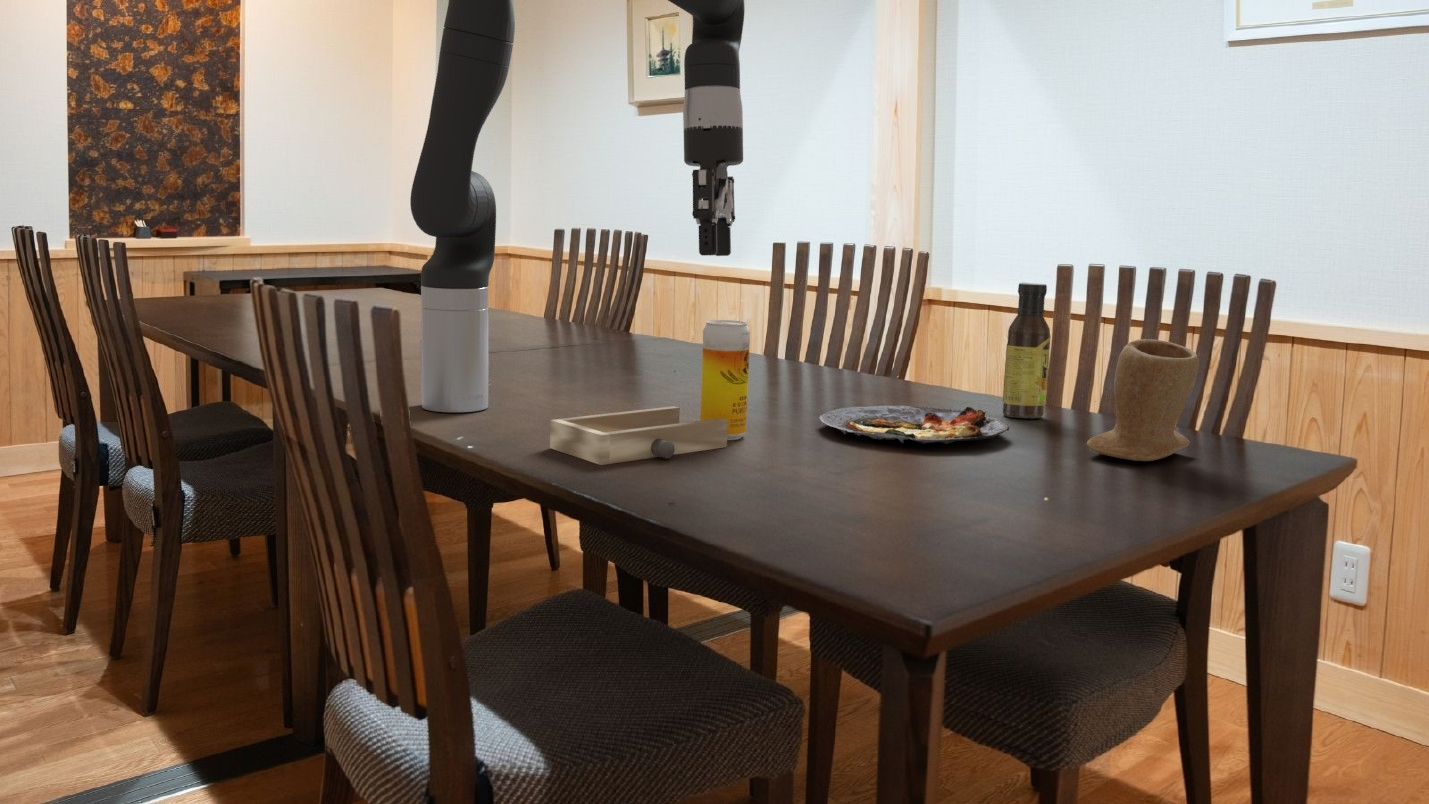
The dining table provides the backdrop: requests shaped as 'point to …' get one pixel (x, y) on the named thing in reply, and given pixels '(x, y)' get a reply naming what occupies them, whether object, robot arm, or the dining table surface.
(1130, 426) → the stone cup
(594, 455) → the wooden stick frame
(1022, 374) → the sauce bottle
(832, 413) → the food plate
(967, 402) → the dining table surface
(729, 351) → the beer can
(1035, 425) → the dining table surface
